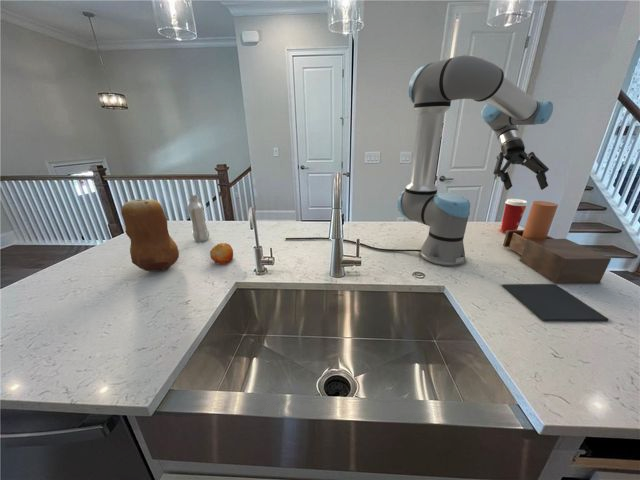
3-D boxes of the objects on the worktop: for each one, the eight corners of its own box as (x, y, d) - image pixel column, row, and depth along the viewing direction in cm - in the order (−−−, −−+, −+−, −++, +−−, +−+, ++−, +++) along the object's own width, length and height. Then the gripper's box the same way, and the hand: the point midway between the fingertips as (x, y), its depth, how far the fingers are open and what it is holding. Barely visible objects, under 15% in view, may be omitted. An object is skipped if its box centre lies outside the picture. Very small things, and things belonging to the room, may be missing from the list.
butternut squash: (174, 256, 101) (158, 192, 91) (186, 268, 92) (170, 199, 82) (132, 269, 92) (109, 199, 82) (141, 283, 83) (117, 207, 73)
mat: (543, 321, 65) (543, 319, 64) (502, 285, 79) (502, 284, 79) (607, 320, 64) (608, 319, 64) (554, 285, 79) (555, 284, 79)
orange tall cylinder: (527, 253, 95) (542, 206, 88) (514, 245, 102) (528, 201, 95) (546, 253, 95) (563, 205, 88) (532, 245, 102) (547, 200, 95)
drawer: (496, 241, 108) (500, 226, 106) (525, 241, 108) (530, 226, 106) (528, 262, 91) (534, 244, 89) (564, 262, 91) (571, 244, 88)
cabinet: (519, 260, 95) (526, 238, 91) (557, 260, 94) (565, 238, 91) (555, 283, 80) (565, 258, 77) (599, 283, 80) (611, 258, 77)
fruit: (242, 253, 99) (232, 241, 93) (231, 271, 95) (219, 259, 89) (226, 250, 102) (215, 237, 96) (214, 266, 98) (202, 255, 92)
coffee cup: (522, 235, 117) (532, 203, 111) (502, 234, 118) (511, 202, 113) (513, 229, 124) (522, 198, 119) (494, 228, 126) (502, 197, 120)
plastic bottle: (213, 239, 117) (205, 195, 109) (199, 244, 112) (190, 198, 104) (204, 236, 120) (196, 193, 112) (191, 241, 115) (181, 196, 107)
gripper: (534, 150, 111) (551, 192, 103) (476, 151, 112) (488, 193, 104) (548, 137, 104) (567, 181, 96) (486, 138, 105) (500, 182, 97)
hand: (526, 187), depth 100 cm, fingers open, 13 cm apart
